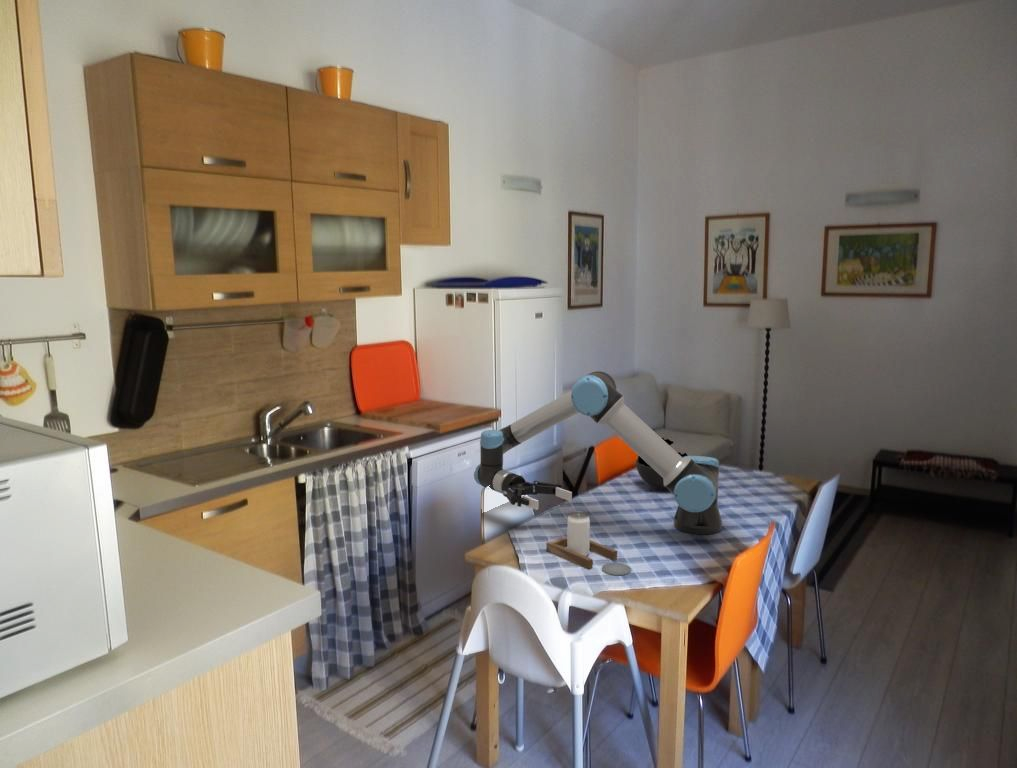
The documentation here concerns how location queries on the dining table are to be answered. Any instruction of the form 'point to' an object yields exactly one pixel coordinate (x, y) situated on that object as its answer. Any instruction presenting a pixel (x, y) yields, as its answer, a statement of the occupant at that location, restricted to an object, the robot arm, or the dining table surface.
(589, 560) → the u-shaped wooden frame
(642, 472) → the coal bowl
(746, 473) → the dining table surface
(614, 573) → the felt pad
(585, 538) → the can
